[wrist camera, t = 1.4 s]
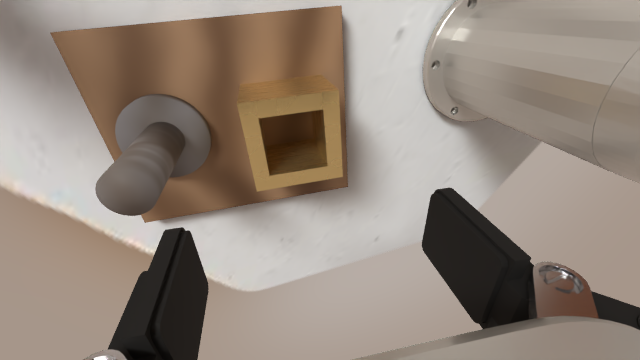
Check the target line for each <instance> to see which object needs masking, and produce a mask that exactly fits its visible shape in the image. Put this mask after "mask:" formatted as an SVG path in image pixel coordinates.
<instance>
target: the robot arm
mask: <svg viewBox="0 0 640 360" xmlns="http://www.w3.org/2000/svg"><path fill="white" fill-rule="evenodd" d="M432 63H433V65H432ZM423 82H424V86H425V91H426V94H427V96H428V98H429V100H430V102H431V103H432V104H433V106H434V107H435V108H436V109H437V110H438V111H440V112H441V113H442V114H444V115H445V116H447V117H449V118H451V119H455V120H458V121H466V122H471V121H478V120H482V119H485V118H488V117H489V118H491V119H493V120H495V121H498V122H500V123H502V124H504V125H507V126H509V127H511V128H513V129H516V130H518V131H520V132H522V133H525V134H527V135H529V136H531V137H534V138H536V139H538V140H540V141H543V142H545V143H547V144H549V145H552V146H554V147H556V148H559V149H561V150H563V151H565V152H567V153H570V154H572V155H574V156H576V157H579V158H581V159H583V160H585V161H588V162H590V163H592V164H594V165H597V166H599V167H601V168H603V169H606V170H608V171H611V172H613V173H615V174H618V175H620V176H623V177H625V178H627V179H630V180H632V181H635V182H638V183H640V0H457V1H455V2H454V3H453V4H452V6H451V7H450V8H449V9H448V10H447V11H446V12H445V13H444V15H443V16H442V18H441V19H440V21H439V22H438V24H437V25H436V27H435V29H434V31H433V33H432V35H431V37H430V40H429V42H428V46H427V49H426V52H425V56H424V63H423ZM422 248H423V251H424V253H425V254H426V255H427V257H428V258H429V260H430V261H431V262H432V264H433V265H434V267H435V268H436V269H437V271H438V272H439V274H440V275H441V276H442V278H443V279H444V280H445V282H446V283H447V285H448V286H449V287H450V289H451V290H452V292H453V293H454V294H455V296H456V297H457V299H458V300H459V302H460V303H461V304H462V306H463V307H464V309H465V310H466V311H467V313H468V314H469V315H470V317H471V318H472V320H473V321H474V322H475V323H479V324H480V326H481V327H482V328H483V329H482V330H478V331H474V332H469V333H465V334H460V335H456V336H452V337H447V338H443V339H438V340H434V341H430V342H425V343H421V344H417V345H413V346H409V347H404V348H400V349H395V350H391V351H387V352H382V353H378V354H374V355H370V356H366V357H361V358H357V359H352V360H640V308H639V307H636V306H633V305H630V304H627V303H624V302H621V301H619V300H615V299H613V298H610V297H607V296H604V295H601V294H598V293H595V292H592V291H591V290H590V287H589V285H588V283H587V281H586V280H585V279H584V278H583V277H582V276H581V275H579V274H578V273H577V272H575V271H574V270H572V269H570V268H568V267H566V266H563V265H561V264H558V263H553V262H540V263H537V264H536V265H535V266H534V265H533V264H532V263H531V262H530V260H531V257H530V256H529V255H527V254H526V253H525V252H524V251H523V250H522V249H521V248H520V247H518V246H517V245H516V244H515V243H514V242H512V241H511V240H510V239H509V238H508V237H507V236H506V235H505V234H504V233H502V232H501V231H500V230H499V229H498V228H497V227H496V226H494V225H493V224H492V223H491V222H490V221H489V220H488V219H487V218H485V217H484V216H483V215H482V214H481V213H480V212H478V211H477V210H476V209H475V208H474V207H473V206H472V205H471V204H470V203H468V202H467V201H466V200H465V199H464V198H463V197H462V196H460V195H459V194H458V193H457V192H456V191H455V190H454V189H452V188H444V189H437V190H436V191H435V192H434V194H432V195H431V198H430V203H429V209H428V214H427V219H426V225H425V230H424V235H423V240H422ZM207 295H208V282H207V278H206V275H205V273H204V270H203V267H202V264H201V261H200V258H199V255H198V252H197V249H196V246H195V243H194V240H193V238H192V235H191V232H190V231H185V229H184V228H182V227H181V228H175V229H168V230H165V231H164V233H163V235H162V238H161V240H160V242H159V245H158V247H157V250H156V252H155V255H154V257H153V260H152V262H151V265H150V267H149V269H148V271H144V272H142V273H141V274H140V276H139V278H138V280H137V283H136V285H135V287H134V290H133V292H132V294H131V297H130V299H129V301H128V303H127V306H126V308H125V310H124V313H123V315H122V317H121V320H120V322H119V324H118V327H117V329H116V331H115V334H114V336H113V338H112V341H111V343H110V345H109V348H108V350H102V351H100V352H97V353H94V354H92V355H90V356H89V357H87V358H85V359H84V360H197V358H198V352H199V345H200V340H201V333H202V327H203V321H204V315H205V308H206V302H207Z"/></svg>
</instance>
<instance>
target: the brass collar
mask: <svg viewBox="0 0 640 360" xmlns="http://www.w3.org/2000/svg"><path fill="white" fill-rule="evenodd" d="M237 107H238V111H239V115H240V120H241V124H242V129H243V133H244V137H245V142H246V146H247V150H248V155H249V159H250V164H251V168H252V172H253V177H254V181H255V185H256V190H257V191H263V190H269V189H275V188H281V187H286V186H292V185H298V184H304V183H310V182H315V181H321V180H327V179H333V178H339V177H343V170H342V147H341V125H340V103H339V90H338V89H337V88H336V87H335V86H334V85H333V84H332V83H330V82H329V81H328V80H327V79H326V78H325V77H324V76H323V75H314V76H306V77H297V78H289V79H281V80H273V81H265V82H257V83H249V84H241V85H240V88H239V94H238V100H237ZM308 111H311V112H312V123H313V133H314V138H313V139H307V140H300V141H294V142H287V143H280V144H274V145H267V146H266V140H265V135H264V130H263V125H262V119H261V118H265V117H273V116H280V115H287V114H294V113H301V112H308Z"/></svg>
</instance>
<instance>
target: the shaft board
mask: <svg viewBox="0 0 640 360" xmlns="http://www.w3.org/2000/svg"><path fill="white" fill-rule="evenodd" d="M51 35H52V37H53V39H54V41H55V43H56V45H57V47H58V49H59V51H60V53H61V55H62V57H63V59H64V61H65V63H66V65H67V67H68V69H69V71H70V73H71V75H72V77H73V79H74V81H75V83H76V85H77V87H78V89H79V91H80V93H81V95H82V97H83V99H84V101H85V103H86V105H87V107H88V109H89V111H90V113H91V115H92V117H93V119H94V121H95V124H96V126H97V128H98V130H99V132H100V134H101V136H102V138H103V140H104V142H105V144H106V146H107V148H108V150H109V152H110V154H111V156H112V158H113V160H114V163H113V164H112V165H111V166H110V167H109V168H108V170H107V171H106V172H105V173H104V174H103V175H102V176H101V177H100V178H99V180H98V181H97V183H96V194H97V197H98V199H99V200H100V202H101V203H102V204H103V205H104V206H105V207H107V208H108V209H110V210H111V211H113V212H116V213H118V214H122V215H128V216H135V215H141V216H142V218H143V220H144V222H145V223H146V222H151V221H157V220H162V219H168V218H174V217H179V216H185V215H191V214H196V213H202V212H208V211H213V210H219V209H225V208H230V207H236V206H242V205H247V204H253V203H259V202H264V201H270V200H276V199H281V198H287V197H292V196H298V195H304V194H309V193H315V192H321V191H326V190H332V189H338V188H343V187H348V179H347V150H346V121H345V93H344V64H343V36H342V7H341V6H332V7H321V8H310V9H299V10H289V11H278V12H267V13H256V14H245V15H235V16H224V17H213V18H202V19H191V20H181V21H170V22H159V23H148V24H137V25H127V26H116V27H105V28H94V29H83V30H73V31H62V32H52V33H51ZM314 75H323V76H324V77H325V78H326V79H327V80H328V81H329V82H330V83H332V84H333V85H334V86H335V87H336V88H337V89H338V90H339V103H340V125H341V147H342V170H343V177H339V178H333V179H327V180H321V181H315V182H310V183H304V184H298V185H292V186H286V187H281V188H275V189H269V190H263V191H257V190H256V185H255V181H254V177H253V172H252V168H251V164H250V159H249V155H248V150H247V146H246V142H245V137H244V133H243V129H242V124H241V120H240V115H239V111H238V107H237V100H238V94H239V88H240V85H241V84H249V83H257V82H265V81H273V80H281V79H289V78H297V77H306V76H314ZM261 119H262V125H263V130H264V135H265V140H266V146H267V145H274V144H280V143H287V142H294V141H300V140H307V139H313V138H314V133H313V123H312V112H311V111H308V112H301V113H294V114H287V115H280V116H273V117H265V118H261Z"/></svg>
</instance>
